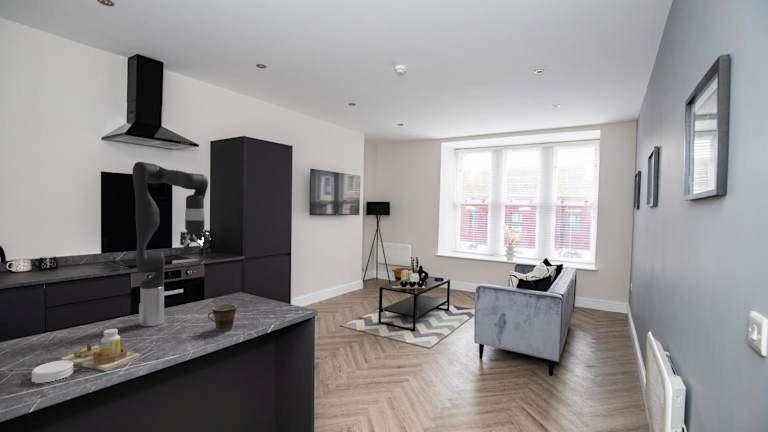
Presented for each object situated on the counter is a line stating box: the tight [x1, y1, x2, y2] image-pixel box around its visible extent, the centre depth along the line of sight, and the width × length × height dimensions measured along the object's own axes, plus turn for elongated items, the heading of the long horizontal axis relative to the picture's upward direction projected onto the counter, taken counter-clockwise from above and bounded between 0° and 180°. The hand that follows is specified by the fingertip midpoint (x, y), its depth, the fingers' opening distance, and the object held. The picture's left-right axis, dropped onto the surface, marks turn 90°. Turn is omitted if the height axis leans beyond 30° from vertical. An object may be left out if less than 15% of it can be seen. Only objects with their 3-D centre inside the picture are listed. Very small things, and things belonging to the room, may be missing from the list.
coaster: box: [31, 359, 75, 384], centre depth 117 cm, size 10×10×4 cm
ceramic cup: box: [207, 303, 238, 333], centre depth 161 cm, size 13×10×10 cm
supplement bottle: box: [100, 328, 121, 357], centre depth 128 cm, size 5×5×10 cm
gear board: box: [60, 342, 141, 372], centre depth 130 cm, size 22×12×5 cm, turn 72°
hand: (194, 255), depth 160 cm, fingers open, 8 cm apart
